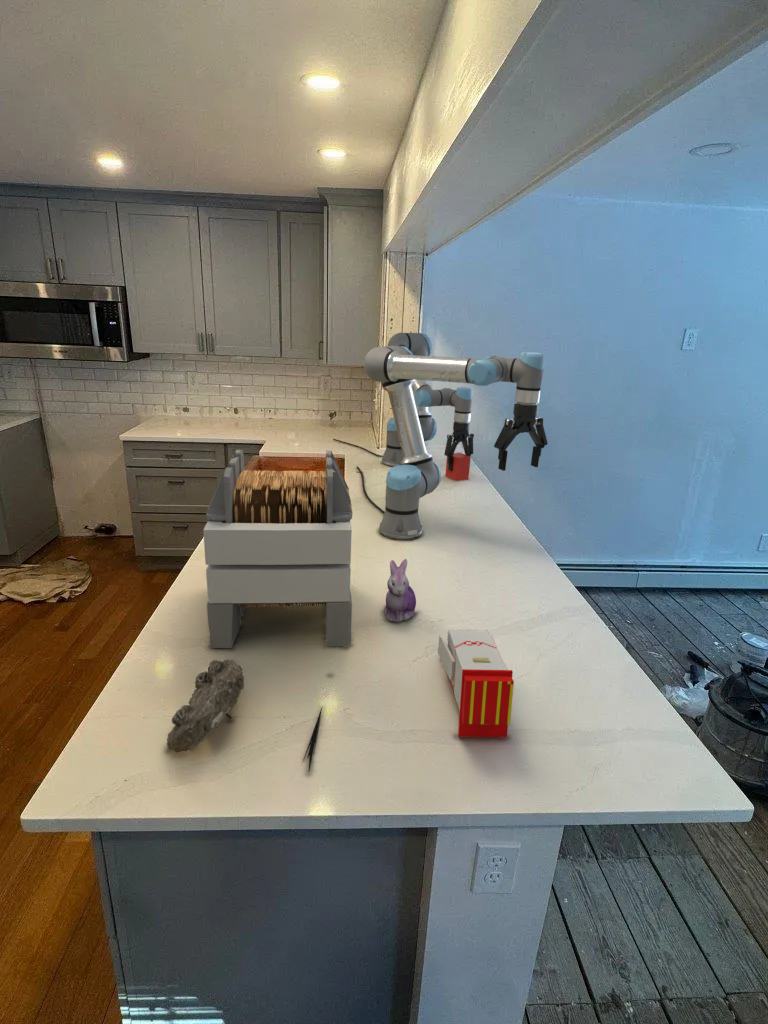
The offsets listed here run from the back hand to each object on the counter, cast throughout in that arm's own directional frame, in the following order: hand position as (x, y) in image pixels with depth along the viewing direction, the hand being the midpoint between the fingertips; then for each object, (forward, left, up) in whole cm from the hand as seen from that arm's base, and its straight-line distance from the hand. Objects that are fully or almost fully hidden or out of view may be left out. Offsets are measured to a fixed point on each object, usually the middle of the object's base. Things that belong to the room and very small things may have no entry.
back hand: (457, 469), depth 269 cm
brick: (0, 0, -4) cm, 4 cm away
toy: (+130, -97, -4) cm, 162 cm away
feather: (+123, -128, -4) cm, 178 cm away
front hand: (+72, -33, +23) cm, 83 cm away
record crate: (+82, -119, -4) cm, 145 cm away
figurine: (+96, -93, -4) cm, 134 cm away
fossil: (+113, -146, -4) cm, 184 cm away
